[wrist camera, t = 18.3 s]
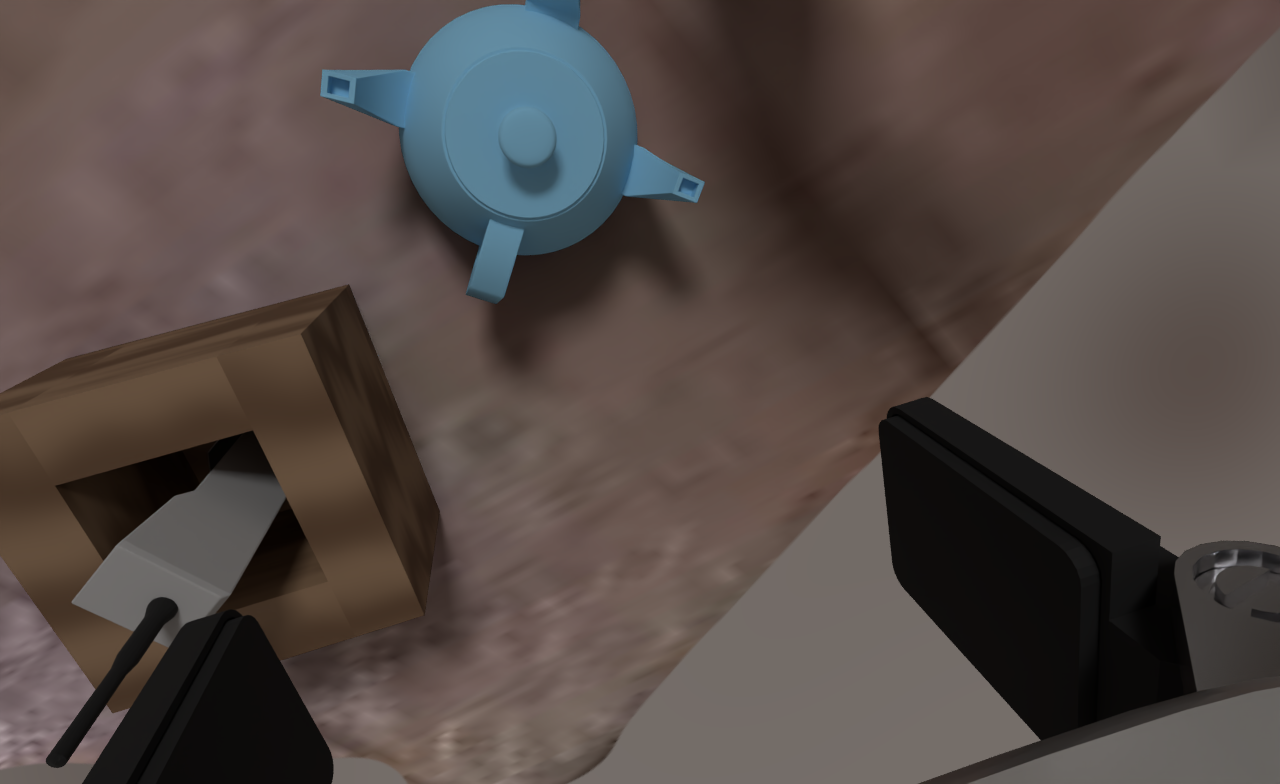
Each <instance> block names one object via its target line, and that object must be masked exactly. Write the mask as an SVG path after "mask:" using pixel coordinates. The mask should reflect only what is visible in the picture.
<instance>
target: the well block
mask: <svg viewBox="0 0 1280 784" xmlns="http://www.w3.org/2000/svg"><path fill="white" fill-rule="evenodd" d="M252 430H253V431H254V433H255V435H256V437H257V439H258V441H259V443H260V445H261V447H262V449H263V451H264V453H265V455H266V457H267V459H268V461H269V463H270V466H271V468H272V470H273V472H274V474H275V476H276V478H277V480H278V482H279V484H280V486H281V488H282V490H283V492H284V494H285V496H286V499H285V501H284V503H283V505H282V506H281V508H280V510H279V512H278V513H277V515H276V517H275V519H274V520H273V522H272V524H271V526H270V527H269V529H268V531H267V533H266V534H265V536H264V538H263V540H262V541H261V543H260V545H259V547H258V548H257V550H256V552H255V554H254V555H253V557H252V559H251V561H250V562H249V564H248V566H247V568H246V569H245V571H244V573H243V574H242V576H241V578H240V580H239V581H238V583H237V585H236V587H235V588H234V590H233V592H232V594H231V595H230V596H229V598H228V599H227V600H226V601H225V602H224V604H223V605H222V606H221V607H220V608H219V610H218V611H217V612H216V613H219V612H223V611H226V610H229V609H233V610H236V611H238V612H239V613H241V614H242V616H245V615H252V616H253V617H254V618H255V619H256V620H257V621H258V623H259V624H260V626H261V628H262V630H263V632H264V633H265V635H266V637H267V639H268V640H269V642H270V644H271V646H272V648H273V649H274V651H275V653H276V655H277V656H278V658H279V660H280V661H281V660H284V659H287V658H290V657H293V656H296V655H300V654H303V653H306V652H309V651H312V650H316V649H319V648H322V647H325V646H328V645H331V644H335V643H338V642H341V641H344V640H347V639H351V638H354V637H357V636H360V635H363V634H366V633H370V632H373V631H376V630H379V629H382V628H386V627H389V626H392V625H395V624H398V623H401V622H405V621H408V620H411V619H414V618H417V617H421V616H424V615H425V609H426V602H427V595H428V588H429V581H430V574H431V567H432V560H433V553H434V547H435V540H436V533H437V526H438V519H439V512H440V511H439V509H438V506H437V504H436V501H435V499H434V496H433V494H432V491H431V489H430V486H429V484H428V481H427V479H426V476H425V474H424V471H423V469H422V466H421V464H420V461H419V459H418V456H417V454H416V451H415V449H414V446H413V444H412V441H411V439H410V436H409V434H408V431H407V429H406V426H405V424H404V421H403V419H402V416H401V414H400V411H399V409H398V406H397V404H396V401H395V399H394V396H393V394H392V391H391V389H390V386H389V384H388V381H387V379H386V376H385V374H384V371H383V369H382V366H381V364H380V361H379V359H378V356H377V354H376V351H375V349H374V346H373V344H372V341H371V339H370V336H369V334H368V331H367V329H366V326H365V324H364V321H363V319H362V316H361V314H360V311H359V309H358V306H357V304H356V301H355V299H354V296H353V294H352V291H351V289H350V286H349V285H345V286H341V287H337V288H334V289H330V290H326V291H322V292H318V293H315V294H311V295H307V296H303V297H299V298H296V299H292V300H288V301H284V302H280V303H277V304H273V305H269V306H265V307H262V308H258V309H254V310H250V311H246V312H243V313H239V314H235V315H231V316H227V317H224V318H220V319H216V320H212V321H208V322H205V323H201V324H197V325H193V326H190V327H186V328H182V329H178V330H174V331H171V332H167V333H163V334H159V335H155V336H152V337H148V338H144V339H140V340H136V341H133V342H129V343H125V344H121V345H117V346H114V347H110V348H106V349H102V350H99V351H95V352H91V353H87V354H83V355H80V356H76V357H72V358H68V359H65V360H63V361H61V362H59V363H58V364H56V365H54V366H52V367H50V368H48V369H46V370H44V371H42V372H40V373H38V374H37V375H35V376H33V377H31V378H29V379H27V380H25V381H23V382H21V383H19V384H17V385H15V386H14V387H12V388H10V389H8V390H6V391H4V392H2V393H0V556H1V557H2V558H3V560H4V561H5V563H6V564H7V565H8V567H9V568H10V570H11V571H12V572H13V574H14V575H15V577H16V578H17V580H18V581H19V582H20V584H21V585H22V587H23V588H24V589H25V591H26V592H27V594H28V595H29V596H30V598H31V599H32V601H33V602H34V603H35V605H36V606H37V608H38V609H39V610H40V612H41V613H42V615H43V616H44V617H45V619H46V620H47V622H48V623H49V624H50V626H51V627H52V629H53V630H54V632H55V633H56V634H57V636H58V637H59V639H60V640H61V641H62V643H63V644H64V646H65V647H66V648H67V650H68V651H69V653H70V654H71V655H72V657H73V658H74V660H75V661H76V662H77V664H78V665H79V667H80V668H81V669H82V671H83V672H84V674H85V675H86V676H87V678H88V679H89V681H90V682H91V684H92V685H93V686H94V688H95V689H97V687H98V686H99V684H100V683H101V682H102V680H103V679H104V677H105V676H106V675H107V673H108V672H109V670H110V669H111V667H112V665H113V662H114V660H115V658H116V656H117V654H118V653H119V651H120V650H121V648H122V647H123V646H124V644H125V643H126V642H127V640H128V639H129V637H130V636H131V635H132V633H133V631H131V630H129V629H127V628H124V627H122V626H120V625H118V624H116V623H114V622H111V621H109V620H107V619H105V618H103V617H100V616H98V615H96V614H94V613H92V612H90V611H87V610H85V609H83V608H81V607H79V606H76V605H74V604H72V600H73V599H74V598H75V596H76V595H77V594H78V593H79V591H80V590H81V589H82V588H83V586H84V585H85V584H86V583H87V581H88V580H89V579H90V578H91V576H92V575H93V574H94V573H95V571H96V570H97V569H98V568H99V566H100V565H101V564H102V563H103V561H104V560H105V559H106V558H107V556H108V555H109V554H110V553H111V551H112V550H113V549H114V548H115V546H116V545H117V544H118V543H119V542H121V541H122V540H123V539H124V538H125V537H126V536H128V535H129V534H130V533H131V532H132V531H134V530H135V529H136V528H137V527H138V526H140V525H141V524H142V523H143V522H144V521H145V520H147V519H148V518H149V517H150V516H151V515H153V514H154V513H155V512H156V511H157V510H159V509H160V508H161V507H162V506H163V505H165V504H166V503H167V502H168V501H169V500H170V499H172V498H173V497H174V496H176V495H180V494H184V493H187V492H191V491H195V489H196V488H197V487H198V486H199V485H200V484H201V482H202V481H203V480H204V479H205V478H206V476H207V475H208V474H209V473H210V471H209V463H208V454H207V452H208V451H209V450H210V449H211V447H212V446H213V445H214V444H215V442H216V441H217V440H220V439H224V438H227V437H231V436H234V435H238V434H241V433H245V432H248V431H252ZM216 613H215V614H216ZM167 649H168V647H166V646H164V645H161V644H159V643H157V642H155V641H153V642H152V644H151V645H150V646H149V648H148V649H147V651H146V652H145V654H144V655H143V657H142V658H141V660H140V661H139V663H138V664H137V665H136V666H135V667H134V668H133V669H132V670H131V671H130V672H129V673H128V674H127V675H126V676H125V678H124V679H123V681H122V682H121V684H120V685H119V687H118V688H117V690H116V691H115V693H114V694H113V695H112V697H111V698H110V700H109V701H108V703H107V704H106V705H107V706H108V707H109V709H110V710H111V712H112V713H115V712H118V711H122V710H125V709H128V708H131V706H132V704H133V703H134V701H135V700H136V698H137V697H138V695H139V693H140V692H141V690H142V689H143V687H144V686H145V684H146V682H147V681H148V679H149V678H150V676H151V675H152V673H153V671H154V670H155V668H156V667H157V665H158V664H159V662H160V660H161V659H162V657H163V656H164V654H165V653H166V651H167Z"/></svg>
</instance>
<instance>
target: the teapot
mask: <svg viewBox="0 0 1280 784" xmlns="http://www.w3.org/2000/svg"><path fill="white" fill-rule="evenodd" d="M579 20H580V0H526V3H525V5H518V4H513V5H495V6H488V7H483V8H480V9H477V10H474V11H471V12H468V13H466V14H464V15H462V16H460V17H458V18H456V19H454V20H453V21H451V22H450V23H448V24H447V25H445V26H444V27H443V28H441V29H440V30H439V31H438V32H437V33H436V34H435V35H434V36H433V37H432V38H431V39H430V40H429V41H428V42H427V44H426V45H425V46H424V47H423V49H422V50H421V51H420V53H419V54H418V56H417V58H416V60H415V61H414V63H413V65H412V67H411V69H410V71H407V70H322V82H321V95H320V96H322V97H325V98H327V99H330V100H332V101H335V102H337V103H340V104H342V105H344V106H347V107H349V108H352V109H354V110H357V111H359V112H362V113H364V114H367V115H369V116H372V117H374V118H377V119H379V120H381V121H384V122H386V123H389V124H391V125H394V126H397V127H399V136H400V143H401V150H402V154H403V158H404V161H405V165H406V168H407V170H408V173H409V175H410V178H411V180H412V182H413V184H414V186H415V188H416V190H417V191H418V193H419V195H420V197H421V198H422V199H423V201H424V202H425V203H426V205H427V206H428V207H429V209H430V210H431V211H432V212H433V213H434V214H435V215H436V216H437V217H438V218H439V219H440V221H442V222H443V223H444V224H445V225H446V226H448V227H449V228H450V229H451V230H452V231H454V232H455V233H457V234H458V235H460V236H462V237H463V238H465V239H466V240H468V241H470V242H472V243H475V244H477V245H479V248H478V252H477V256H476V259H475V263H474V266H473V270H472V274H471V277H470V281H469V284H468V288H467V291H466V295H468V296H472V297H475V298H478V299H481V300H485V301H488V302H491V303H494V304H497V303H498V302H499V301H500V300H501V299H503V298H504V296H505V293H506V290H507V286H508V283H509V280H510V276H511V273H512V270H513V266H514V263H515V259H516V256H517V255H539V254H545V253H550V252H555V251H558V250H561V249H564V248H567V247H569V246H571V245H573V244H575V243H577V242H579V241H581V240H583V239H584V238H585V237H587V236H588V235H590V234H591V233H593V232H594V231H595V230H596V229H597V228H598V227H600V226H601V225H602V224H603V223H604V222H605V221H606V219H607V218H608V217H609V216H610V215H611V214H612V213H613V211H614V210H615V208H616V207H617V205H618V204H619V202H620V201H621V199H622V197H623V195H624V196H628V197H638V198H650V199H661V200H672V201H683V202H695V203H697V202H698V199H699V196H700V194H701V191H702V188H703V186H704V183H705V182H704V181H701V180H699V179H697V178H696V177H694V176H692V175H690V174H688V173H686V172H684V171H682V170H680V169H678V168H676V167H674V166H673V165H671V164H669V163H667V162H665V161H663V160H661V159H659V158H658V157H656V156H655V155H653V154H652V153H651V152H649V151H648V150H646V149H645V148H643V147H640V146H638V145H637V122H636V115H635V109H634V105H633V101H632V98H631V94H630V91H629V89H628V87H627V84H626V82H625V79H624V77H623V75H622V74H621V72H620V70H619V68H618V67H617V65H616V63H615V62H614V61H613V59H612V58H611V56H610V55H609V54H608V52H607V51H606V50H605V49H604V48H603V47H602V46H601V45H600V44H599V43H598V41H597V40H596V39H595V38H593V37H592V36H591V35H590V34H588V33H587V32H586V31H585V30H584V29H582V28H581V27H579V26H578V25H579Z"/></svg>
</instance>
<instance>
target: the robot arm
mask: <svg viewBox="0 0 1280 784" xmlns="http://www.w3.org/2000/svg"><path fill="white" fill-rule="evenodd" d="M879 439H880V449H881V458H882V468H883V477H884V487H885V497H886V506H887V516H888V525H889V535H890V545H891V555H892V563H893V568H894V571H895V574H896V576H897V579H898V581H899V582H900V584H901V585H902V587H903V588H904V589H905V590H906V591H907V593H908V594H909V595H910V596H911V597H912V598H913V599H914V600H915V601H916V603H917V604H918V605H919V606H920V607H921V608H922V609H923V610H924V611H925V612H926V614H927V615H928V616H929V617H930V618H931V619H932V620H933V621H934V622H935V624H936V625H937V626H938V627H939V628H940V629H941V630H942V631H943V632H944V634H945V635H946V636H947V637H948V638H949V639H950V640H951V641H952V642H953V644H954V645H955V646H956V647H957V648H958V649H959V650H960V651H961V652H962V653H963V655H964V656H965V657H966V658H967V659H968V660H969V661H970V662H971V663H972V665H974V666H975V668H976V669H977V670H978V671H979V672H980V673H981V674H982V676H983V677H984V678H985V679H986V680H987V681H988V682H989V683H990V684H991V685H992V687H993V688H994V689H995V690H996V691H997V692H998V693H999V694H1000V696H1001V697H1003V699H1004V700H1005V701H1006V702H1007V703H1008V704H1009V705H1010V707H1011V708H1012V709H1013V710H1014V711H1015V712H1016V713H1017V714H1018V715H1019V717H1020V718H1021V719H1022V720H1023V721H1024V722H1025V723H1026V724H1027V725H1028V726H1029V728H1030V729H1031V730H1032V731H1033V732H1034V733H1035V734H1036V735H1037V736H1038V737H1039V739H1040V740H1041V741H1039V742H1036V743H1032V744H1030V745H1027V746H1024V747H1021V748H1018V749H1015V750H1012V751H1009V752H1006V753H1003V754H1000V755H997V756H994V757H991V758H989V759H986V760H983V761H980V762H977V763H975V764H972V765H969V766H966V767H963V768H961V769H958V770H955V771H952V772H949V773H947V774H944V775H941V776H938V777H935V778H933V779H930V780H927V781H924V782H921V783H919V784H1280V547H1278V546H1274V545H1267V544H1262V543H1255V542H1249V541H1218V542H1211V543H1205V544H1200V545H1198V546H1196V547H1194V548H1191V549H1189V550H1186V551H1185V552H1184V553H1183V554H1182V555H1181V556H1180V557H1177V556H1176V555H1174V554H1172V553H1171V552H1169V551H1167V550H1165V549H1164V548H1163V547H1161V546H1160V539H1161V536H1159V535H1158V534H1156V533H1154V532H1153V531H1151V530H1149V529H1147V528H1146V527H1144V526H1143V525H1141V524H1139V523H1138V522H1136V521H1134V520H1133V519H1131V518H1129V517H1128V516H1126V515H1124V514H1123V513H1121V512H1119V511H1118V510H1116V509H1114V508H1113V507H1111V506H1109V505H1108V504H1106V503H1104V502H1103V501H1101V500H1099V499H1098V498H1096V497H1094V496H1093V495H1091V494H1089V493H1088V492H1086V491H1084V490H1083V489H1081V488H1079V487H1078V486H1076V485H1074V484H1073V483H1071V482H1069V481H1068V480H1066V479H1064V478H1063V477H1061V476H1060V475H1058V474H1056V473H1054V472H1053V471H1051V470H1050V469H1048V468H1046V467H1045V466H1043V465H1041V464H1040V463H1038V462H1036V461H1034V460H1033V459H1031V458H1030V457H1028V456H1026V455H1025V454H1023V453H1021V452H1020V451H1018V450H1016V449H1014V448H1013V447H1011V446H1009V445H1008V444H1006V443H1004V442H1003V441H1001V440H1000V439H998V438H996V437H995V436H993V435H991V434H990V433H988V432H986V431H985V430H983V429H981V428H980V427H978V426H976V425H975V424H973V423H971V422H970V421H968V420H966V419H964V418H963V417H961V416H960V415H958V414H956V413H955V412H953V411H952V410H950V409H948V408H946V407H945V406H943V405H941V404H940V403H938V402H936V401H935V400H933V399H931V398H928V397H925V398H921V399H918V400H914V401H911V402H908V403H905V404H901V405H898V406H895V407H892V408H890V409H889V411H888V414H887V419H885V420H882V421H881V422H880V424H879ZM332 779H333V759H332V755H331V752H330V750H329V747H328V746H327V744H326V742H325V740H324V738H323V737H322V735H321V733H320V731H319V730H318V728H317V726H316V724H315V722H314V721H313V719H312V717H311V715H310V713H309V712H308V710H307V708H306V706H305V705H304V703H303V701H302V699H301V697H300V696H299V694H298V692H297V690H296V689H295V687H294V685H293V683H292V681H291V680H290V678H289V676H288V674H287V673H286V671H285V669H284V667H283V665H282V664H281V662H280V660H279V658H278V656H277V655H276V653H275V651H274V649H273V648H272V646H271V644H270V642H269V640H268V639H267V637H266V635H265V633H264V632H263V630H262V628H261V626H260V624H259V623H258V621H257V620H256V619H255V618H254V617H253V616H252V615H245V616H242V614H241V613H239V612H238V611H236V610H233V609H229V610H226V611H223V612H219V613H216V614H213V615H210V616H206V617H203V618H200V619H197V620H193V621H190V622H188V623H185V624H184V626H183V627H182V628H181V629H180V630H179V632H178V634H177V635H176V637H175V638H174V640H173V642H172V643H171V645H170V646H169V648H168V649H167V651H166V653H165V654H164V656H163V657H162V659H161V660H160V662H159V664H158V665H157V667H156V668H155V670H154V671H153V673H152V675H151V676H150V678H149V679H148V681H147V682H146V684H145V686H144V687H143V689H142V690H141V692H140V693H139V695H138V697H137V698H136V700H135V701H134V703H133V704H132V706H131V708H130V709H129V711H128V712H127V714H126V715H125V717H124V719H123V720H122V722H121V723H120V725H119V726H118V728H117V730H116V731H115V733H114V734H113V736H112V738H111V739H110V741H109V742H108V744H107V745H106V747H105V749H104V750H103V752H102V753H101V755H100V756H99V758H98V760H97V761H96V763H95V764H94V766H93V768H92V769H91V771H90V772H89V774H88V775H87V777H86V779H85V780H84V782H83V783H82V784H331V783H332Z"/></svg>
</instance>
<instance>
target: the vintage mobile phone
mask: <svg viewBox="0 0 1280 784" xmlns="http://www.w3.org/2000/svg"><path fill="white" fill-rule="evenodd" d="M207 454H208V463H209V471H210V473H209V474H208V475H207V476H206V478H205V479H204V480H203V481H202V482H201V484H200V485H199V486H198V487H197V488H196V489H195V491H191V492H187V493H184V494H180V495H176V496H174V497H173V498H172V499H170V500H169V501H168V502H167V503H166V504H165V505H163V506H162V507H161V508H160V509H159V510H157V511H156V512H155V513H154V514H153V515H151V516H150V517H149V518H148V519H147V520H145V521H144V522H143V523H142V524H141V525H140V526H138V527H137V528H136V529H135V530H134V531H132V532H131V533H130V534H129V535H128V536H126V537H125V538H124V539H123V540H122V541H121V542H119V543H118V544H117V545H116V546H115V548H114V549H113V550H112V551H111V553H110V554H109V555H108V556H107V558H106V559H105V560H104V561H103V563H102V564H101V565H100V566H99V568H98V569H97V570H96V571H95V573H94V574H93V575H92V576H91V578H90V579H89V580H88V581H87V583H86V584H85V585H84V586H83V588H82V589H81V590H80V591H79V593H78V594H77V595H76V596H75V598H74V599H73V600H72V604H74V605H76V606H79V607H81V608H83V609H85V610H87V611H90V612H92V613H94V614H96V615H98V616H100V617H103V618H105V619H107V620H109V621H111V622H114V623H116V624H118V625H120V626H122V627H124V628H127V629H129V630H131V631H133V633H132V635H131V636H130V637H129V639H128V640H127V642H126V643H125V644H124V646H123V647H122V648H121V650H120V651H119V653H118V654H117V656H116V658H115V660H114V662H113V665H112V667H111V669H110V670H109V672H108V673H107V675H106V676H105V677H104V679H103V680H102V682H101V683H100V684H99V686H98V687H97V689H96V690H95V691H94V693H93V694H92V696H91V697H90V698H89V700H88V701H87V702H86V704H85V705H84V707H83V708H82V709H81V711H80V712H79V714H78V715H77V716H76V718H75V719H74V721H73V722H72V723H71V725H70V726H69V728H68V729H67V730H66V732H65V733H64V734H63V736H62V737H61V739H60V740H59V741H58V743H57V744H56V746H55V747H54V748H53V750H52V751H51V753H50V754H49V755H48V757H47V758H46V763H47V764H48V765H49V766H51V767H54V768H59V767H62V766H64V765H65V764H66V763H67V762H68V760H69V759H70V757H71V756H72V754H73V753H74V751H75V750H76V748H77V747H78V745H79V744H80V742H81V741H82V739H83V738H84V737H85V735H86V734H87V732H88V731H89V729H90V728H91V726H92V725H93V723H94V722H95V720H96V719H97V717H98V716H99V715H100V713H101V712H102V710H103V709H104V707H105V706H106V704H107V703H108V701H109V700H110V698H111V697H112V695H113V694H114V693H115V691H116V690H117V688H118V687H119V685H120V684H121V682H122V681H123V679H124V678H125V676H126V675H127V674H128V673H129V672H130V671H131V670H132V669H133V668H134V667H135V666H136V665H137V664H138V663H139V661H140V660H141V658H142V657H143V655H144V654H145V652H146V651H147V649H148V648H149V646H150V645H151V644H152V642H153V641H155V642H157V643H159V644H161V645H164V646H166V647H168V648H169V646H170V645H171V643H172V642H173V640H174V638H175V637H176V635H177V634H178V632H179V630H180V629H181V628H182V627H183V626H184V624H185V623H188V622H190V621H193V620H197V619H200V618H203V617H206V616H210V615H213V614H215V613H216V612H217V611H218V610H219V608H220V607H221V606H222V605H223V604H224V602H225V601H226V600H227V599H228V598H229V596H230V595H231V594H232V592H233V590H234V588H235V587H236V585H237V583H238V581H239V580H240V578H241V576H242V574H243V573H244V571H245V569H246V568H247V566H248V564H249V562H250V561H251V559H252V557H253V555H254V554H255V552H256V550H257V548H258V547H259V545H260V543H261V541H262V540H263V538H264V536H265V534H266V533H267V531H268V529H269V527H270V526H271V524H272V522H273V520H274V519H275V517H276V515H277V513H278V512H279V510H280V508H281V506H282V505H283V503H284V501H285V499H286V496H285V494H284V492H283V490H282V488H281V486H280V484H279V482H278V480H277V478H276V476H275V474H274V472H273V470H272V468H271V466H270V463H269V461H268V459H267V457H266V455H265V453H264V451H263V449H262V447H261V445H260V443H259V441H258V439H257V437H256V435H255V433H254V431H253V430H252V431H248V432H245V433H241V434H238V435H234V436H231V437H227V438H224V439H220V440H217V441H216V442H215V444H214V445H213V446H212V447H211V449H210V450H209V451H208V452H207Z"/></svg>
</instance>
